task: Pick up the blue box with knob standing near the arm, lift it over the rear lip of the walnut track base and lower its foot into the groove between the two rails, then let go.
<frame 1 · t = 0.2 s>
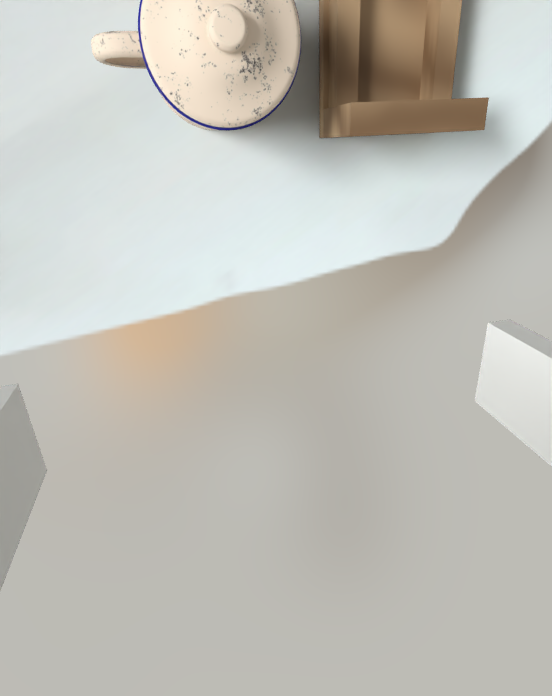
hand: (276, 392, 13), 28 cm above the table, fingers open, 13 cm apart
teacup with lid: (191, 65, 32), on the table
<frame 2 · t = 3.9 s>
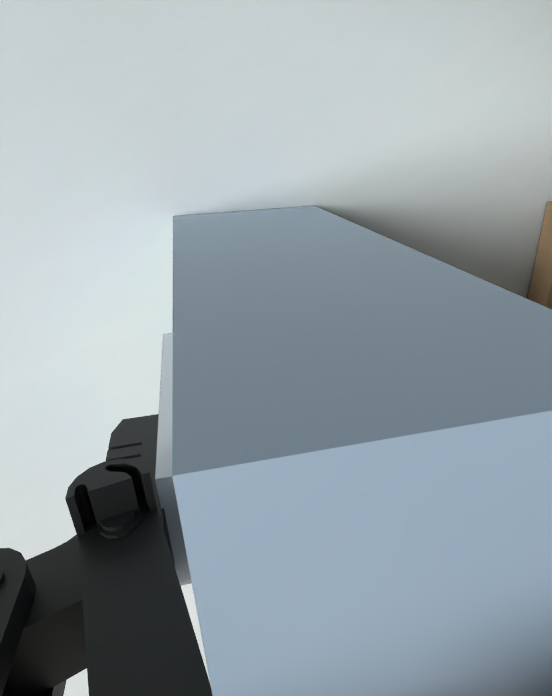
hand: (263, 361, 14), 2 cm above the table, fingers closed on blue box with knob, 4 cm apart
blue box with knob: (254, 340, 16), on the table, touching gripper
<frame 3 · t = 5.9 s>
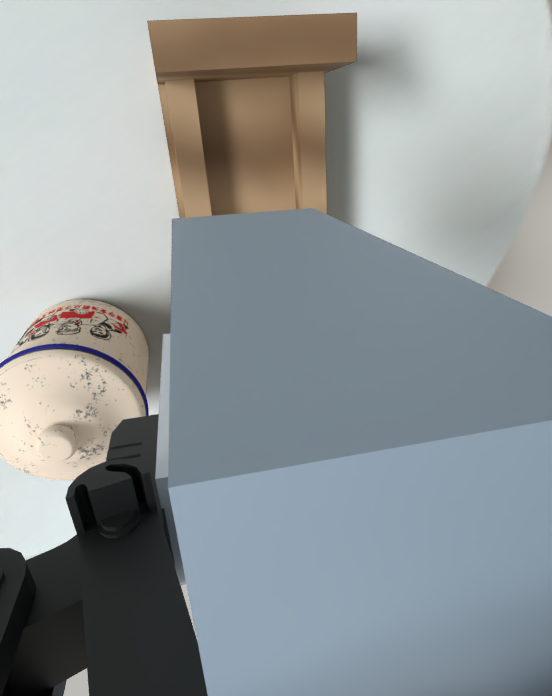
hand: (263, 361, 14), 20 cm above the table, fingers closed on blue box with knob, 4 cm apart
teacup with lid: (69, 353, 33), on the table
track: (253, 240, 32), on the table
blue box with knob: (253, 342, 16), point 18 cm above the table, touching gripper
when the fingers open (5 cm above the table, at t = 8.4 s): blue box with knob drops 2 cm, resting on track.
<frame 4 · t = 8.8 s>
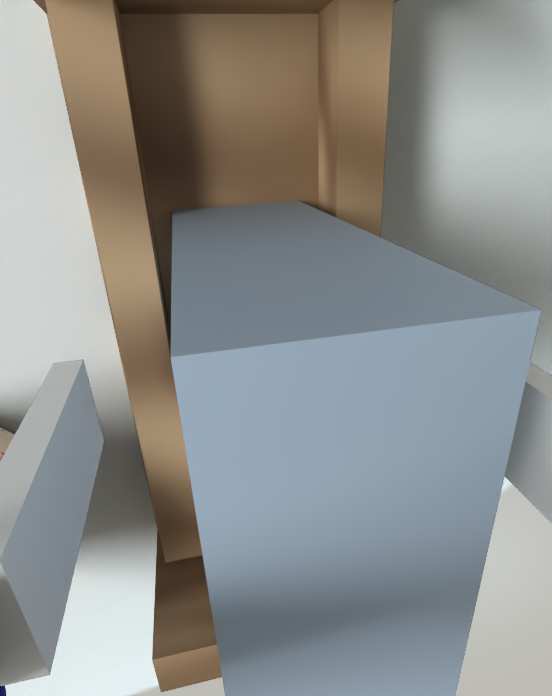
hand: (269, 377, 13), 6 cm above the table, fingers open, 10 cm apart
track: (243, 312, 19), on the table
blue box with knob: (246, 322, 18), point 1 cm above the table, touching track
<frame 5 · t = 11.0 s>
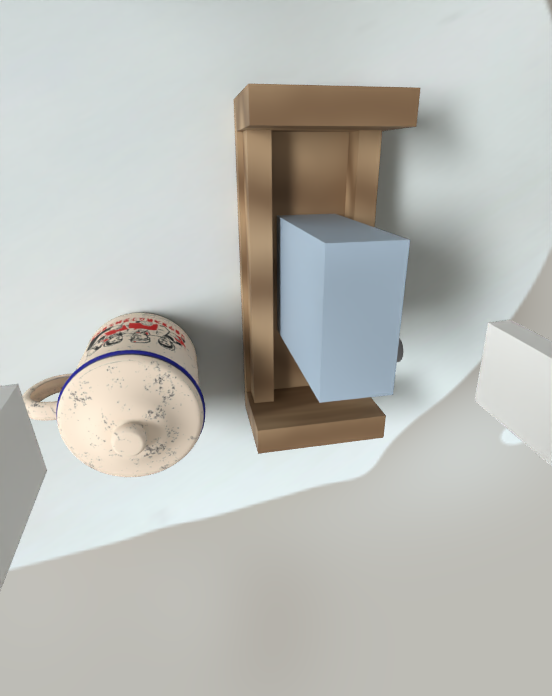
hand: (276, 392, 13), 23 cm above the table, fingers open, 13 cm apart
teacup with lid: (124, 361, 36), on the table
track: (302, 270, 36), on the table
blue box with knob: (305, 274, 35), point 1 cm above the table, touching track
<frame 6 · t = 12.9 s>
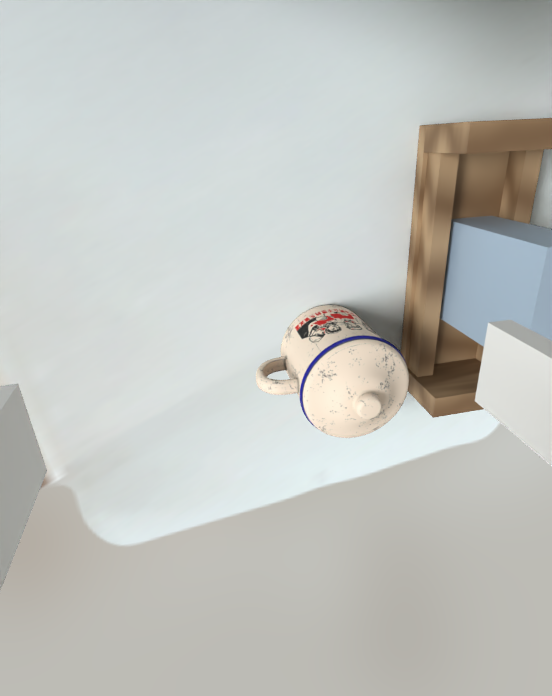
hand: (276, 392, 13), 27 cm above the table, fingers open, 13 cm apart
teacup with lid: (308, 346, 43), on the table
track: (456, 263, 42), on the table
blue box with knob: (462, 267, 41), point 1 cm above the table, touching track
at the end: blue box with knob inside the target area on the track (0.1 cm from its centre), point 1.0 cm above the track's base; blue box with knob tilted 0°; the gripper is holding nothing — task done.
